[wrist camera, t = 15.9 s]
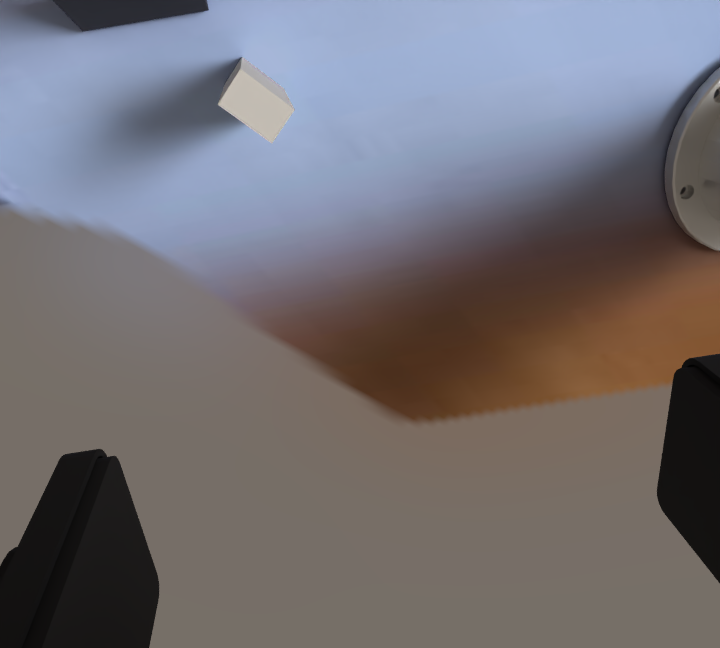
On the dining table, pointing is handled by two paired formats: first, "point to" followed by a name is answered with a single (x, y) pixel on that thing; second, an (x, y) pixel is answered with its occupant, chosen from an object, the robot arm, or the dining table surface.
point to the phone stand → (125, 11)
